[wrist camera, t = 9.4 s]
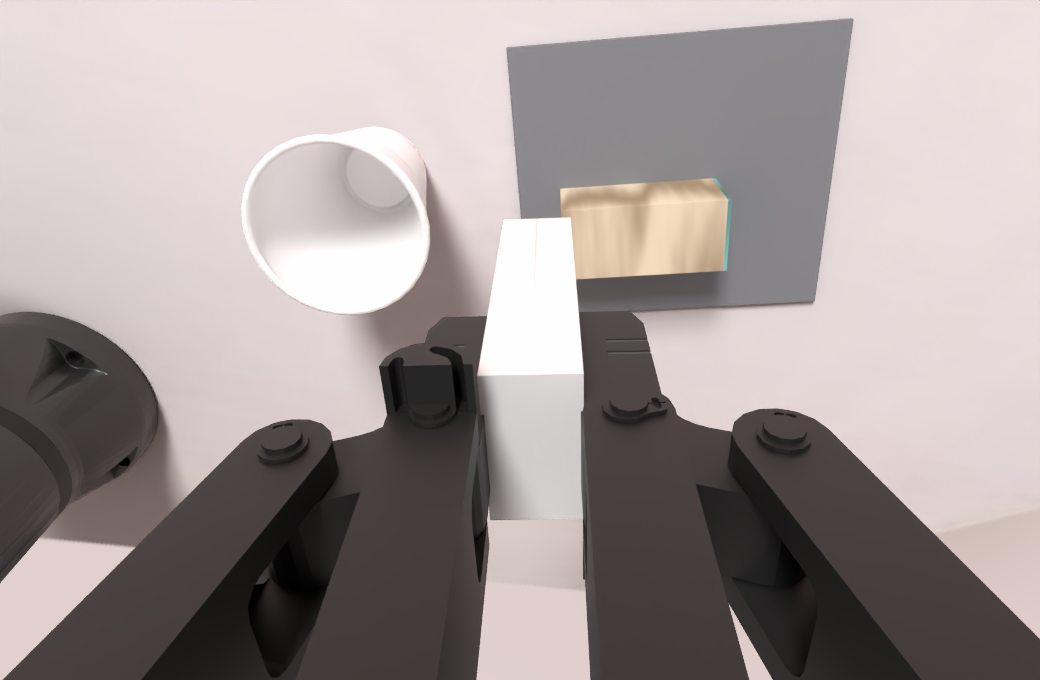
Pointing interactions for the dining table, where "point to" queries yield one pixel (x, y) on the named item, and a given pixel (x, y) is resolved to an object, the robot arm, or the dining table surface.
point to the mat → (692, 145)
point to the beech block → (648, 228)
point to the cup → (340, 219)
